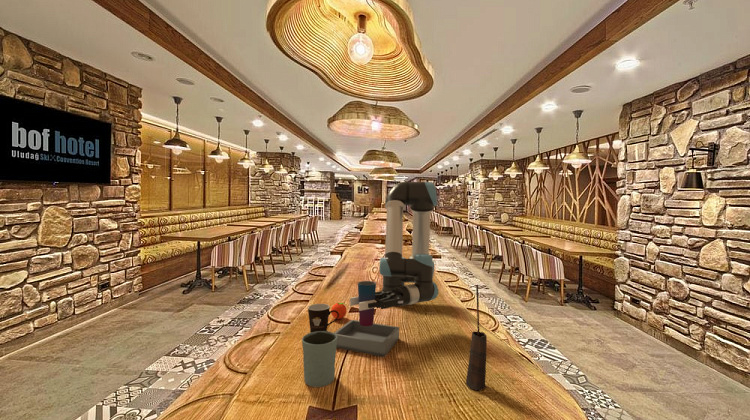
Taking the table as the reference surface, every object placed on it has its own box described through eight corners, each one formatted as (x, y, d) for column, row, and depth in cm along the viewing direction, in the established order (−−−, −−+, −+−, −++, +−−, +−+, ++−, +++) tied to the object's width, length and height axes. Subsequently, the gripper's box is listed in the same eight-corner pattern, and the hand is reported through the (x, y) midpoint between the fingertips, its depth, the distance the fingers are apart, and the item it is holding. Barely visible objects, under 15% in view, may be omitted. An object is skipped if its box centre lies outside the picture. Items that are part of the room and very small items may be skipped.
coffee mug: (303, 333, 122) (303, 308, 122) (316, 326, 130) (317, 302, 130) (327, 339, 117) (327, 313, 117) (340, 331, 125) (340, 306, 125)
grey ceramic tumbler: (305, 391, 84) (305, 347, 84) (298, 373, 93) (298, 333, 93) (341, 383, 88) (341, 341, 88) (331, 367, 97) (331, 328, 97)
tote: (351, 330, 126) (351, 319, 126) (398, 338, 118) (399, 327, 118) (331, 346, 111) (331, 334, 111) (384, 357, 103) (384, 343, 103)
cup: (366, 319, 119) (367, 280, 119) (379, 323, 114) (380, 283, 114) (353, 323, 114) (353, 282, 114) (366, 328, 109) (366, 286, 110)
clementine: (346, 315, 144) (346, 299, 144) (350, 320, 138) (350, 304, 138) (329, 316, 142) (329, 301, 142) (332, 322, 135) (332, 305, 135)
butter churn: (500, 399, 81) (501, 292, 81) (462, 395, 83) (463, 290, 82) (492, 380, 90) (493, 284, 90) (458, 377, 92) (460, 282, 92)
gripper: (421, 311, 116) (368, 322, 104) (391, 298, 132) (342, 307, 119) (421, 291, 116) (368, 300, 104) (391, 281, 132) (342, 288, 119)
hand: (354, 304), depth 112 cm, fingers closed on cup, 6 cm apart
